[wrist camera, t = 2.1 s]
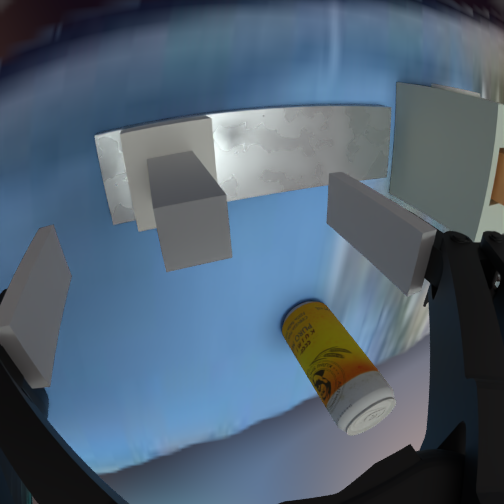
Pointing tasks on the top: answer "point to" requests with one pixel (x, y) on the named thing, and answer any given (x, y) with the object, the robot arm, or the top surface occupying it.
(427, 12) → the top surface
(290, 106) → the rail
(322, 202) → the top surface
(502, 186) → the button
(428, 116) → the white block
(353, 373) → the beer can
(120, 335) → the top surface
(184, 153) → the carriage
